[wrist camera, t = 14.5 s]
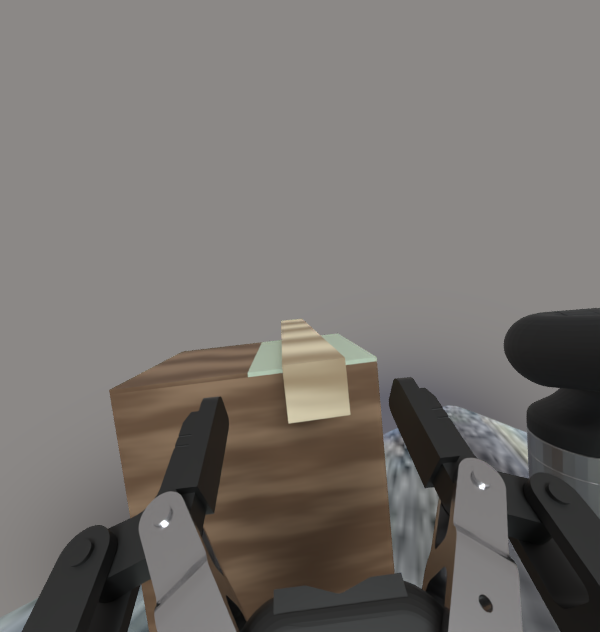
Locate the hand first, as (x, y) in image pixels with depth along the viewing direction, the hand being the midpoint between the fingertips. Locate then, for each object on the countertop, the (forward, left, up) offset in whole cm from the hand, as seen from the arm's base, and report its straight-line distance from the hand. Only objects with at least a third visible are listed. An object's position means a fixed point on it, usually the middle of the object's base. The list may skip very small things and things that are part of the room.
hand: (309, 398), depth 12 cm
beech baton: (+7, -12, -2) cm, 14 cm away
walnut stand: (+13, -14, -34) cm, 39 cm away
